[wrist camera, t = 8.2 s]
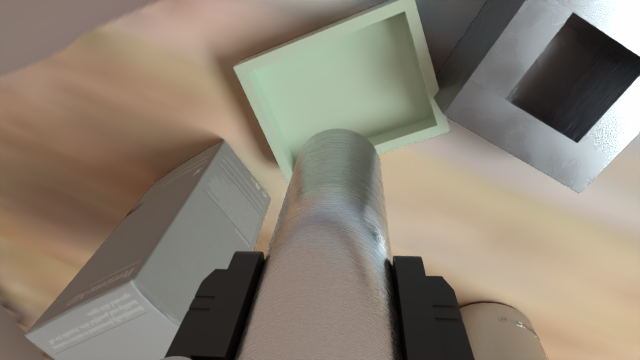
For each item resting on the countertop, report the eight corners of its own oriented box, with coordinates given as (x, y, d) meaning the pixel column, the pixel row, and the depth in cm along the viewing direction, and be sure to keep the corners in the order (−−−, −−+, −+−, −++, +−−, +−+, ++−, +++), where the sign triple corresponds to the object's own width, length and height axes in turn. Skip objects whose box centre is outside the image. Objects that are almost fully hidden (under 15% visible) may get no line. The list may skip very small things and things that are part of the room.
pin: (356, 230, 19) (356, 746, 6) (267, 184, 19) (68, 663, 6) (414, 150, 17) (575, 666, 5) (316, 96, 17) (181, 524, 4)
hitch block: (540, 155, 31) (579, 193, 26) (427, 88, 29) (443, 114, 24) (651, 30, 27) (724, 45, 21) (525, -56, 25) (570, -63, 20)
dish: (292, 169, 33) (287, 183, 31) (242, 59, 30) (233, 67, 27) (443, 119, 30) (450, 131, 28) (408, -8, 27) (413, -6, 25)
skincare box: (226, 135, 32) (125, 263, 18) (278, 205, 35) (225, 366, 21) (147, 184, 35) (4, 330, 21) (201, 246, 37) (106, 415, 23)
